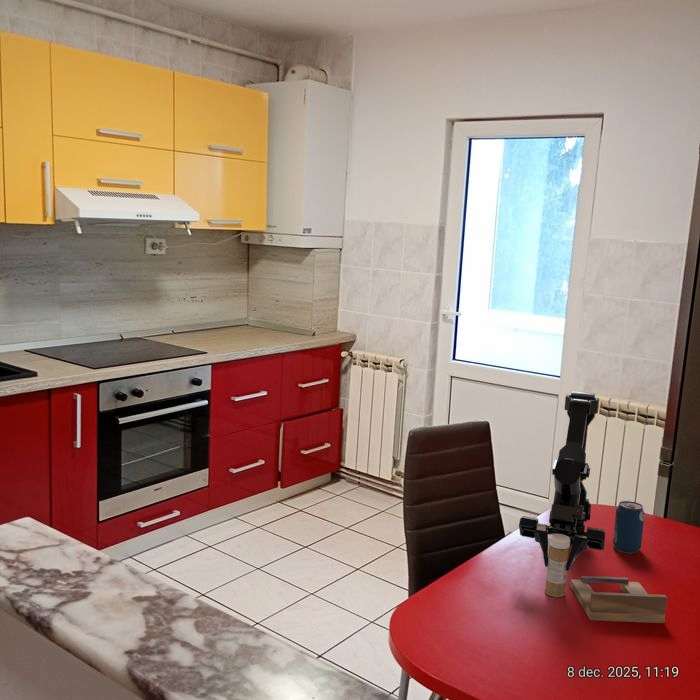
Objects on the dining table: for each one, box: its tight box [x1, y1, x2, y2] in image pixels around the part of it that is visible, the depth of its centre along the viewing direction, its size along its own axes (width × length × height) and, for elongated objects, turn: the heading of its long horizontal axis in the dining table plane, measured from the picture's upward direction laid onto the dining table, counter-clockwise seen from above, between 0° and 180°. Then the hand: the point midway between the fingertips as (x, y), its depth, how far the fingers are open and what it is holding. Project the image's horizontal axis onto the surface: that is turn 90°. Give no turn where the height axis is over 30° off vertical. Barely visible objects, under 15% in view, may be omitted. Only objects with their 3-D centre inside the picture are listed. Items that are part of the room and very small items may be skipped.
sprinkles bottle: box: [544, 534, 570, 598], centre depth 169 cm, size 5×5×14 cm
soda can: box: [612, 500, 646, 555], centre depth 195 cm, size 7×7×12 cm
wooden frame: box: [569, 575, 668, 624], centre depth 165 cm, size 15×16×6 cm
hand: (556, 568), depth 167 cm, fingers closed on sprinkles bottle, 4 cm apart
